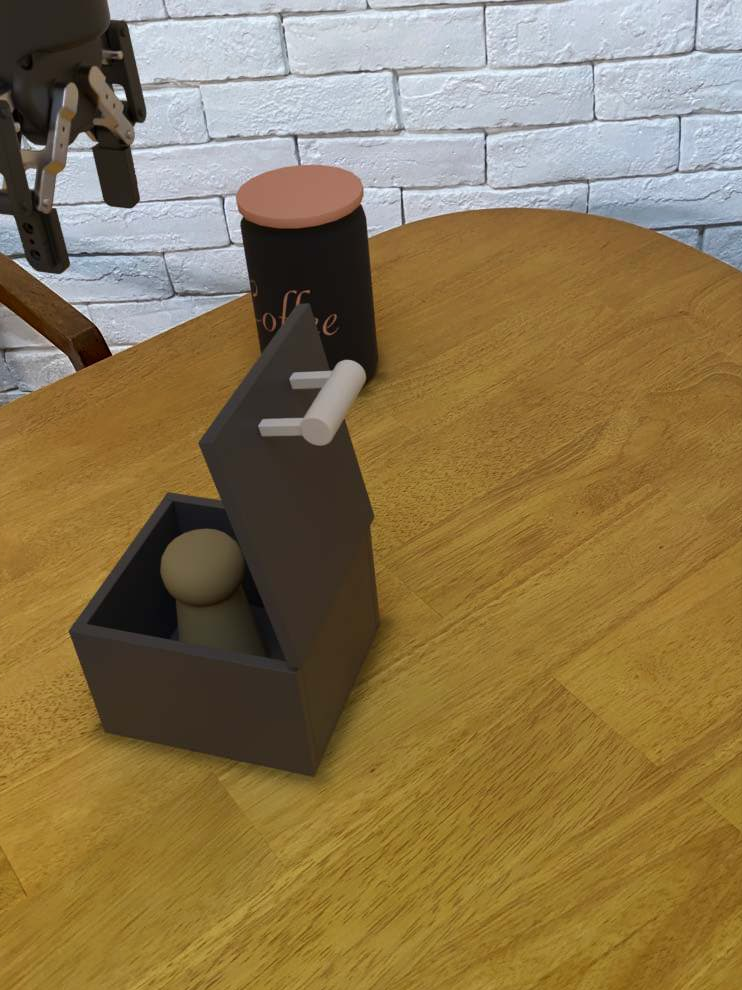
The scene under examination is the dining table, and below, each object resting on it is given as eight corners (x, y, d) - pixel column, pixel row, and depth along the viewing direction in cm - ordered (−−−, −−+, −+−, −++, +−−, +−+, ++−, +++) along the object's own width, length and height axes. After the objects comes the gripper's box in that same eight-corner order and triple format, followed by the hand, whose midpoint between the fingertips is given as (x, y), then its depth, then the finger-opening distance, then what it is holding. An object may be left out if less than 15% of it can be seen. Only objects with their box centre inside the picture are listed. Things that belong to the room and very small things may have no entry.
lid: (197, 442, 54) (290, 440, 52) (297, 303, 64) (378, 297, 62) (288, 668, 64) (370, 673, 62) (364, 516, 73) (436, 517, 71)
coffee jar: (241, 386, 104) (208, 201, 93) (312, 334, 111) (290, 155, 99) (332, 420, 99) (309, 229, 88) (401, 363, 106) (389, 178, 94)
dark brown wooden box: (105, 735, 74) (68, 630, 67) (193, 595, 83) (167, 491, 77) (314, 780, 70) (296, 673, 64) (380, 628, 80) (370, 522, 73)
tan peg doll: (165, 688, 76) (129, 567, 68) (209, 626, 80) (180, 506, 72) (245, 710, 74) (217, 588, 66) (285, 646, 78) (263, 525, 71)
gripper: (28, -100, 63) (92, 181, 73) (-136, -27, 52) (-34, 286, 63) (150, -95, 61) (197, 192, 71) (3, -19, 51) (84, 303, 61)
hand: (88, 236), depth 67 cm, fingers open, 8 cm apart
